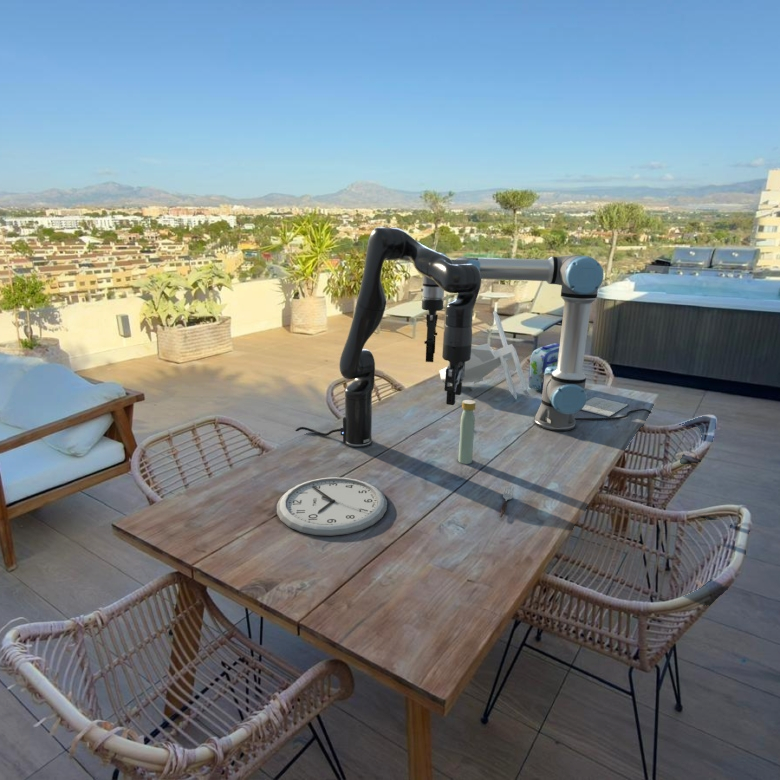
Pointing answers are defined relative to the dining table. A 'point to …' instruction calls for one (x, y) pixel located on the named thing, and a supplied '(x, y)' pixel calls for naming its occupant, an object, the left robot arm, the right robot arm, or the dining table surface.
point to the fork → (506, 497)
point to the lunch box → (542, 364)
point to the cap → (468, 405)
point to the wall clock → (331, 506)
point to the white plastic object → (492, 362)
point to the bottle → (466, 437)
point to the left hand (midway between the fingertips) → (453, 399)
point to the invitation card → (603, 406)
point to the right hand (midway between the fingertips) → (430, 357)
